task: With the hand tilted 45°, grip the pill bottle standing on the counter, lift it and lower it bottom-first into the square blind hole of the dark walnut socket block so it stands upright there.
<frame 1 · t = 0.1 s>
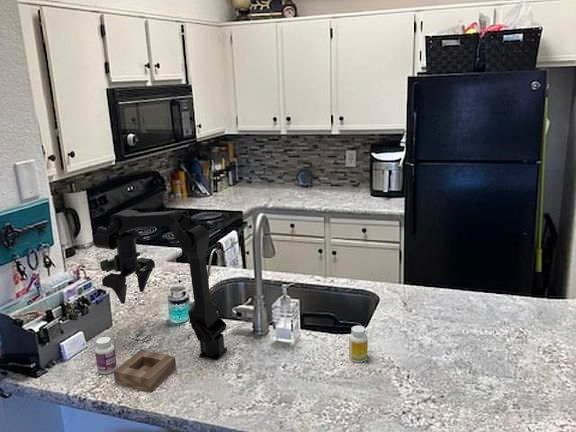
hand: (132, 297, 165), 15 cm above the worktop, tool pointing down, fingers open, 9 cm apart
pill bottle: (107, 370, 152), on the worktop
socket block: (146, 376, 148), on the worktop
supplement bottle: (358, 358, 153), on the worktop
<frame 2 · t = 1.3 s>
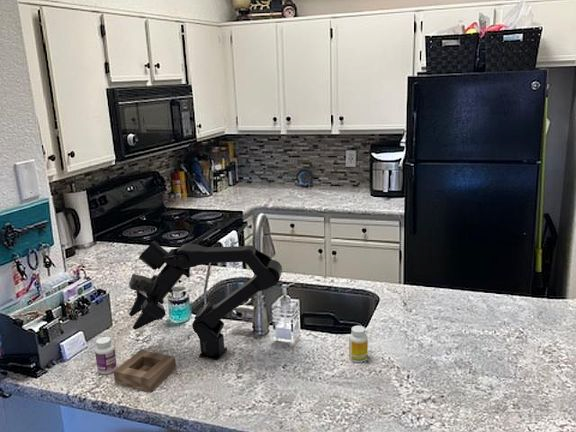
hand: (132, 322, 152), 13 cm above the worktop, tool tilted 45°, fingers open, 9 cm apart
nothing on the worktop moved.
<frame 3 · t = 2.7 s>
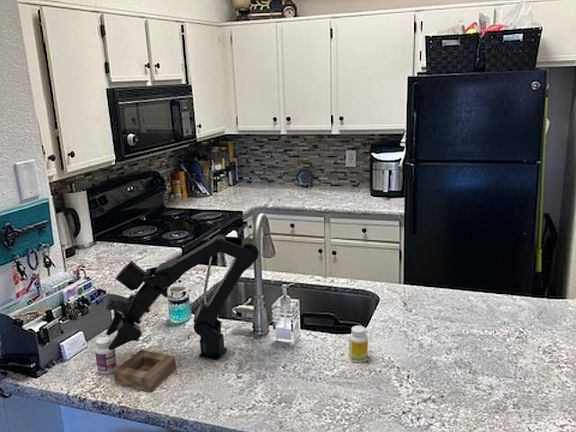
hand: (108, 341, 150), 9 cm above the worktop, tool tilted 45°, fingers open, 9 cm apart
nothing on the worktop moved.
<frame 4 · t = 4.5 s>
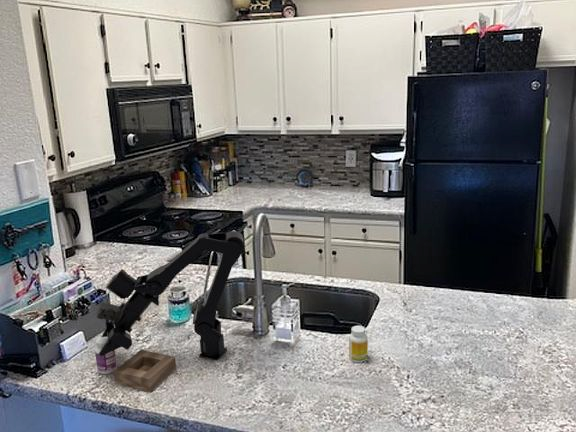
hand: (99, 350, 150), 7 cm above the worktop, tool tilted 45°, fingers closed on pill bottle, 5 cm apart
pill bottle: (107, 370, 152), on the worktop, touching gripper
everything else where it was.
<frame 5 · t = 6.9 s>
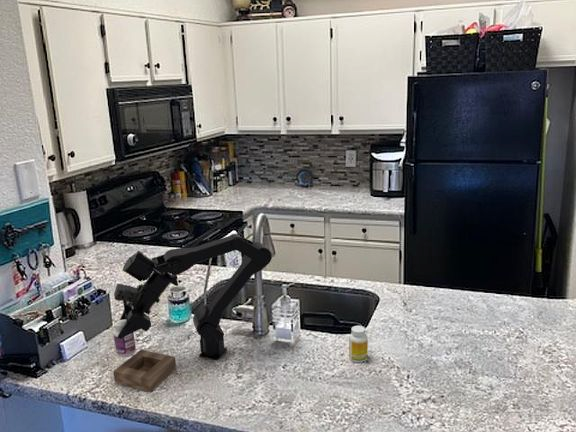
hand: (118, 333, 147), 13 cm above the worktop, tool tilted 45°, fingers closed on pill bottle, 5 cm apart
pill bottle: (126, 353, 149), point 6 cm above the worktop, touching gripper
everything else where it was.
when the fingers open (8 cm above the worktop, at t = 9.3 s): pill bottle stays where it is, resting on socket block.
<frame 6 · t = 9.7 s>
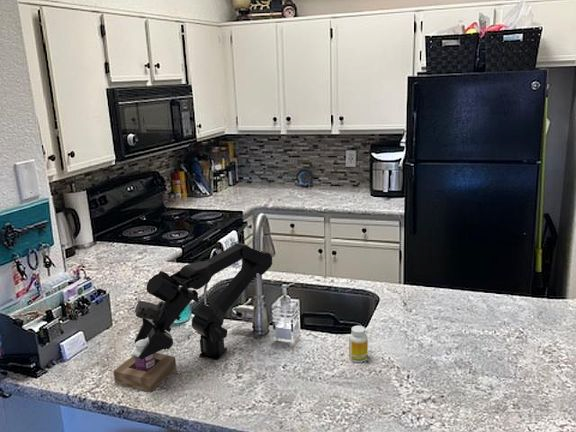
hand: (137, 350, 145), 9 cm above the worktop, tool tilted 45°, fingers open, 9 cm apart
pill bottle: (146, 373, 148), point 1 cm above the worktop, touching socket block
everything else where it was.
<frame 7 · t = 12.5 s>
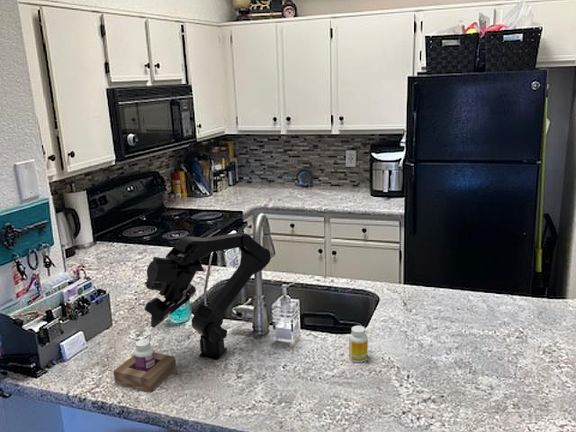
hand: (161, 319, 154), 13 cm above the worktop, tool tilted 30°, fingers open, 9 cm apart
nothing on the worktop moved.
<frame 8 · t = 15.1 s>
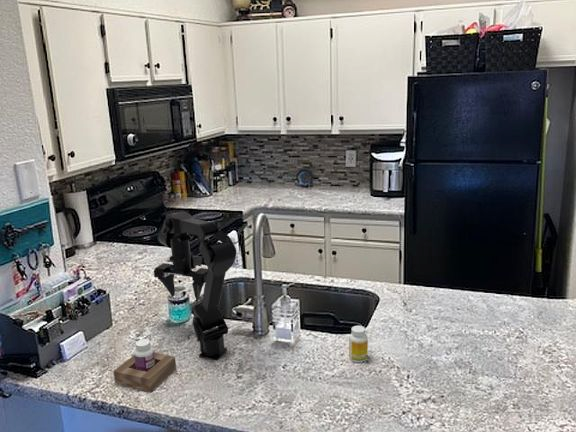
hand: (185, 297, 168), 13 cm above the worktop, tool pointing down, fingers open, 9 cm apart
nothing on the worktop moved.
at the end: pill bottle 0.1 cm off-centre on the socket block, point 0.8 cm above the socket block's base; pill bottle tilted 0°; the gripper is holding nothing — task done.
